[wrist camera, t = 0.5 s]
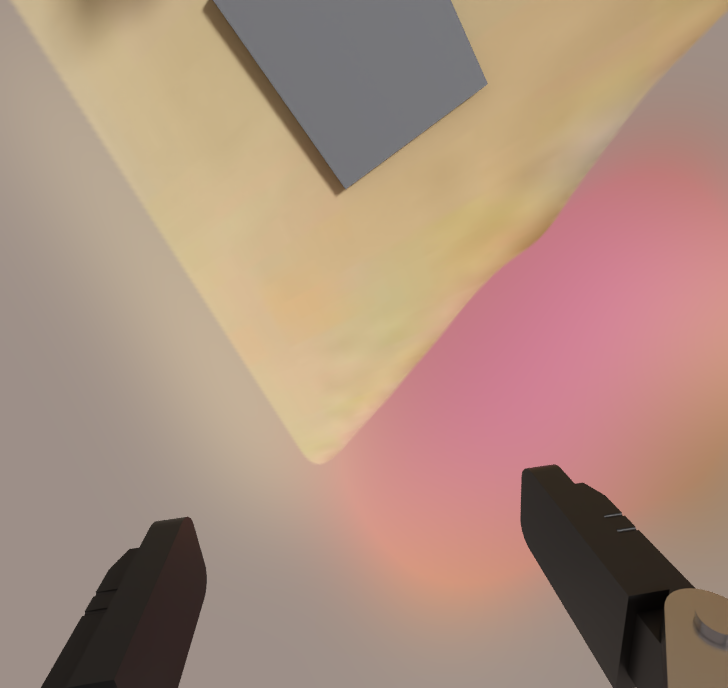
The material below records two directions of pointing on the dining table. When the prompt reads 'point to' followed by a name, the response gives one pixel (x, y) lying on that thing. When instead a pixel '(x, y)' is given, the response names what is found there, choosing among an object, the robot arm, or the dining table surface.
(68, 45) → the dining table surface
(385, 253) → the dining table surface
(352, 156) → the slate mat
